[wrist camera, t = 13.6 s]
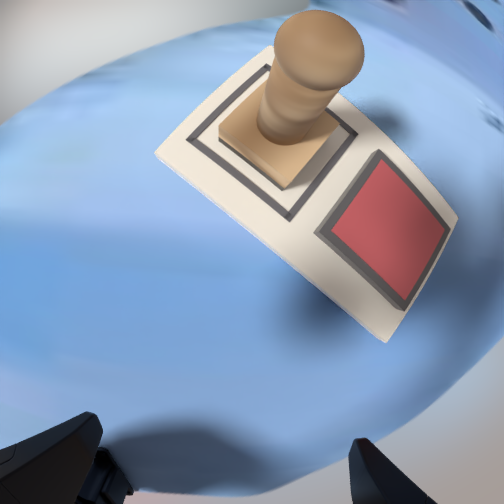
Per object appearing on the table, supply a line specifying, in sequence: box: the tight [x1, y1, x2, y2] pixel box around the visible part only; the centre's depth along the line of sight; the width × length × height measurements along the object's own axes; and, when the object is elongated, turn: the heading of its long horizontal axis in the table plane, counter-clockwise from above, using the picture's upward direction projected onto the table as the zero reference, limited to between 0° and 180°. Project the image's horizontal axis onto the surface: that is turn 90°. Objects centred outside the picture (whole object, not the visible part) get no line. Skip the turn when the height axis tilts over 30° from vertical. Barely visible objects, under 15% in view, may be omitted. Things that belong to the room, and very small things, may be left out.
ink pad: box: [313, 149, 451, 312], centre depth 19 cm, size 9×8×1 cm
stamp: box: [218, 10, 364, 191], centre depth 13 cm, size 6×6×12 cm
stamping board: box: [154, 45, 458, 343], centre depth 20 cm, size 22×13×2 cm, turn 51°
